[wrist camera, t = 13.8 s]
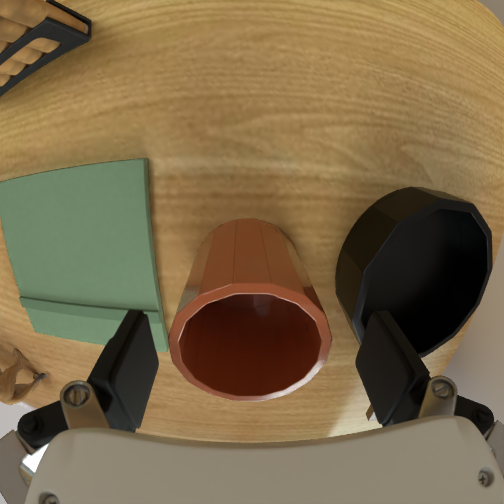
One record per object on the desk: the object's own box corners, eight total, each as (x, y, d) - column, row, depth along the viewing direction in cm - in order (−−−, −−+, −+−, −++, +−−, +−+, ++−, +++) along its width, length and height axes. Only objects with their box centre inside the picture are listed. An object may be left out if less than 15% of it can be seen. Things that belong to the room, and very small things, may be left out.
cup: (300, 219, 17) (345, 281, 9) (291, 308, 19) (316, 397, 12) (193, 218, 16) (157, 281, 9) (199, 308, 19) (181, 398, 11)
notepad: (148, 157, 15) (142, 159, 14) (169, 345, 20) (166, 354, 19) (1, 181, 14) (-7, 184, 13) (39, 327, 20) (33, 333, 19)
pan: (473, 197, 16) (506, 210, 13) (410, 380, 24) (424, 406, 20) (347, 177, 16) (376, 189, 12) (307, 397, 23) (315, 430, 20)
